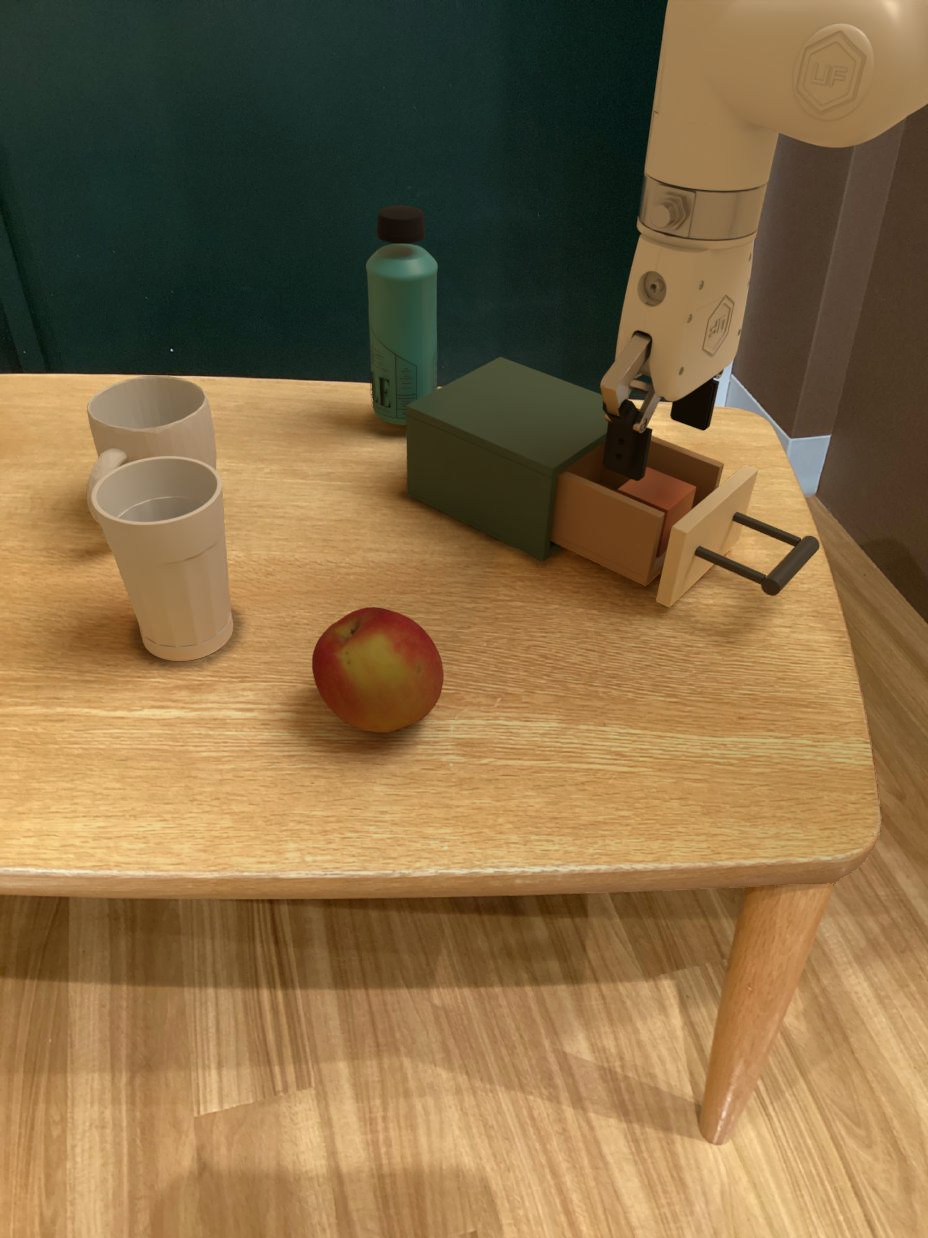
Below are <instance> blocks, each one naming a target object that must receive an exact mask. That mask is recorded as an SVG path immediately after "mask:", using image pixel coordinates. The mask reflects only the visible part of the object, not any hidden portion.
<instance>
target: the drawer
mask: <svg viewBox="0 0 928 1238" xmlns="http://www.w3.org/2000/svg"><path fill="white" fill-rule="evenodd" d="M605 442H606V441H605ZM605 442H603V443H602V444H600V445H599V446H598V447H596V448H595V449H593V450H592V451H590V452H589V453H587V454H586V455H584V456H583V457H582V458H580V459H579V460H577V461H576V462H574V463H573V464H571V465H570V466H568V467H567V468H566V469H564V470H563V471H561V472H560V473H558V476H557V485H556V494H555V503H554V512H553V521H552V529H551V538H550V541H552V542H554V543H556V544H558V545H560V546H562V547H561V548H564V549H566V550H568V551H570V552H573V553H575V554H577V555H579V556H580V557H583V558H585V559H587V560H590V561H591V562H593V563H595V564H598V565H600V566H602V567H604V568H605V569H608V570H610V571H612V572H615V573H616V574H618V575H620V576H622V577H625V578H627V579H629V580H631V581H633V582H635V583H638V584H640V585H642V586H643V587H647V586H648V585H649V584H650V583H651V582H653V580H655V579H656V578H657V577H658V576H659V575H660V574H661V575H660V579H659V585H658V590H657V594H656V599H655V601H656V603H659V604H660V605H662V606H665V607H667V608H671V607H672V606H673V605H674V604H675V603H676V602H677V601H678V600H679V599H681V597H682V596H683V595H684V594H685V593H686V592H687V591H689V589H690V588H691V587H692V586H694V585H695V584H696V583H697V582H698V581H699V580H700V579H701V578H702V577H703V576H704V575H705V574H706V573H708V571H709V570H710V569H712V567H713V566H714V565H715V566H717V567H720V568H722V569H724V570H726V571H728V572H731V573H733V574H736V575H737V576H740V577H742V578H744V579H747V580H749V581H751V582H753V583H755V584H758V585H760V588H761V591H762V592H763V593H764V594H765V595H767V596H771V597H774V596H777V595H779V594H780V593H781V591H782V590H783V589H784V588H785V587H786V586H787V585H788V583H790V582H791V580H793V578H794V577H795V576H796V575H797V574H798V573H800V571H801V569H803V567H804V566H805V565H806V564H807V563H808V562H809V561H810V560H811V558H812V557H814V555H815V554H816V553H817V552H818V551H819V549H820V547H821V546H820V544H821V543H820V541H819V539H818V538H817V537H815V536H813V535H805V536H804V537H802V538H801V537H800V536H797V535H795V534H792V533H791V532H788V531H785V530H783V529H780V528H778V527H775V526H774V525H770V524H769V523H766V522H763V521H761V520H759V519H757V518H753V517H751V516H749V515H747V513H748V509H749V505H750V501H751V497H752V494H753V491H754V486H755V484H756V479H757V477H758V472H759V469H758V468H756V467H753V466H751V465H748V464H745V463H744V464H743V465H742V466H741V467H739V468H738V469H737V470H736V471H735V472H733V473H732V474H731V475H730V476H729V477H728V478H726V480H724V481H723V482H722V483H721V479H722V475H723V471H724V466H725V463H724V462H721V461H718V460H716V459H713V458H712V457H709V456H706V455H704V454H701V453H699V452H696V451H693V450H690V449H688V448H685V447H683V446H680V445H679V444H675V443H672V442H670V441H667V440H664V439H662V438H660V437H657V436H654V435H652V436H651V442H650V448H649V454H648V459H647V465H646V467H649V468H651V469H654V470H656V471H659V472H661V473H664V474H666V475H669V476H671V477H674V478H676V479H678V480H681V481H683V482H686V483H688V484H691V485H693V486H696V491H695V495H694V499H693V504H692V508H691V511H690V512H688V513H687V514H686V515H685V516H684V517H683V518H681V519H680V520H679V521H678V522H677V523H676V524H674V525H673V526H672V528H671V533H670V538H669V542H668V547H667V550H666V551H665V552H664V553H663V554H662V555H661V556H660V557H656V554H657V549H658V544H659V539H660V534H661V530H662V525H663V520H664V515H665V513H664V512H661V511H659V510H657V509H654V508H652V507H650V506H647V505H645V504H643V503H640V502H638V501H636V500H633V499H631V498H629V497H626V496H624V495H622V494H619V493H617V491H618V488H620V487H621V486H622V485H624V484H625V483H626V482H628V481H629V480H630V478H628V477H625V476H623V475H620V474H618V473H615V472H613V471H610V470H608V469H606V468H605V467H604V466H603V456H604V449H605ZM720 483H721V484H720ZM743 527H746V528H749V529H751V530H753V531H756V532H758V533H761V534H763V535H765V536H768V537H770V538H772V539H775V540H777V541H780V542H783V543H785V544H787V545H789V546H792V547H793V548H792V549H791V550H790V551H789V552H788V553H787V554H786V555H785V556H784V557H783V558H782V560H780V561H779V562H778V563H777V564H776V565H775V567H774V568H773V569H772V570H771V571H770V572H769V573H768V574H765V573H763V572H761V571H758V570H756V569H753V568H752V567H749V566H747V565H745V564H742V563H741V562H738V561H735V560H733V559H731V558H729V557H726V556H725V555H726V554H727V553H728V552H729V551H730V550H731V549H732V548H733V547H734V546H735V545H736V544H737V543H738V542H739V541H740V538H741V535H742V531H743Z"/></svg>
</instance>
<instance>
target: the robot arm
mask: <svg viewBox="0 0 928 1238" xmlns="http://www.w3.org/2000/svg"><path fill="white" fill-rule="evenodd" d="M660 45H661V46H660V52H659V59H658V60H659V61H658V69H657V73H656V74H657V76H656V82H655V90H654V95H653V96H654V97H653V104H652V110H651V119H650V125H649V133H648V141H647V147H646V155H645V163H644V171H643V177H642V178H643V179H642V186H641V193H640V200H639V207H638V213H637V221H636V228H637V230H638V232H640V235H639V237H638V241H637V245H636V248H635V252H634V256H633V260H632V264H631V268H630V272H629V276H628V280H627V285H626V291H625V295H624V299H623V305H622V310H621V315H620V322H619V327H618V333H617V341H616V348H615V358H614V362H613V363H612V365H610V368H609V369H607V371H606V372H605V374H604V375H603V377H602V379H601V381H600V383H599V384H600V386H599V387H600V394H601V395H602V397H603V402H602V403H603V411H604V412H605V413H606V414H605V420H606V421H608V427H607V434H606V442H605V449H604V456H603V466H604V467H605V468H606V469H608V470H610V471H613V472H615V473H618V474H620V475H623V476H625V477H628V478H630V479H632V480H635V481H639V480H641V479H642V478H643V477H644V476H645V471H646V465H647V459H648V454H649V448H650V442H651V436H653V428H651V427H648V426H649V424H650V422H651V419H652V417H653V415H654V414H655V411H656V409H657V407H658V406H659V403H660V401H661V399H662V398H664V400H665V401H668V402H672V403H671V409H670V414H669V415H670V419H671V420H672V421H674V422H677V423H680V424H683V425H685V426H688V427H690V428H694V429H697V430H700V431H704V432H705V431H706V430H707V429H708V428H710V427H711V423H712V418H713V415H714V410H715V404H716V400H717V395H718V392H719V391H718V390H719V387H720V386H719V385H720V381H719V379H720V378H722V375H723V373H724V371H725V369H726V368H727V367H728V366H730V365H731V363H732V362H733V361H734V360H735V358H736V356H737V353H738V349H739V344H740V340H741V334H742V329H743V323H744V318H745V311H746V306H747V300H748V293H749V289H750V282H751V275H752V268H753V259H754V248H755V240H756V238H757V235H758V230H759V224H760V220H761V215H762V211H763V206H764V202H765V198H766V192H767V188H768V185H769V184H768V183H769V181H770V176H771V171H772V166H773V161H774V157H775V153H776V148H777V143H778V139H779V134H781V135H784V136H786V137H789V138H793V139H795V140H798V141H801V142H804V143H806V144H811V145H815V146H817V147H823V148H836V149H837V148H847V147H854V146H857V145H861V144H864V143H866V142H869V141H871V140H873V139H875V138H877V137H879V136H880V135H882V134H883V133H885V132H887V131H888V130H890V129H891V128H893V127H894V126H896V125H897V124H898V123H900V122H902V121H903V120H904V119H906V118H907V117H908V116H910V115H912V114H913V113H915V112H917V111H918V110H921V109H922V108H923V107H925V106H926V105H928V0H667V5H666V10H665V15H664V23H663V31H662V40H661V44H660ZM643 375H644V376H647V377H650V378H651V382H652V383H650V382H647V381H644V380H642V379H639V377H641V376H643ZM632 392H636V393H639V394H641V395H645V398H644V399H643V401H642V403H641V406H640V408H638V407H637V406H636V405H635V403H634V401H632V400H630V399H629V397H630V395H631V393H632ZM637 408H638V409H640V410H639V411H638V409H637Z"/></svg>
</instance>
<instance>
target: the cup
mask: <svg viewBox="0 0 928 1238" xmlns="http://www.w3.org/2000/svg"><path fill="white" fill-rule="evenodd" d="M223 492H224V491H223V479H222V477H221V475H220V474H219V472H218V471H217V469H216V470H215V469H214V468H213V467H211V466H210V465H208V464H206V463H204V462H201V461H199V460H195V459H192V458H186V457H178V456H160V457H151V458H145V459H141V460H137V461H133V462H130V463H127V464H124V465H122V466H120V467H118V468H116V469H114V470H112V471H110V472H109V473H107V474H106V475H105V476H103V477H102V478H101V479H100V480H99V481H98V482H97V483H96V485H95V486H94V488H93V490H92V494H91V501H92V504H93V507H94V510H95V512H96V515H97V517H98V520H99V522H100V524H99V525H100V527H101V530H102V532H103V535H104V537H105V540H106V543H107V545H108V547H109V548H110V550H111V553H112V556H113V558H114V560H115V563H116V566H117V569H118V572H119V575H120V576H121V580H122V582H123V585H124V588H125V591H126V593H127V596H128V598H129V601H130V604H131V606H132V609H133V612H134V614H135V618H136V620H137V622H138V627H139V632H140V636H141V639H142V643H143V646H144V647H145V649H146V650H147V651H148V652H149V653H150V654H152V655H153V656H155V657H157V658H159V659H161V660H166V661H172V662H188V661H193V660H198V659H201V658H205V657H208V656H209V655H211V654H212V655H213V653H216V652H217V651H218V650H220V649H221V648H222V647H224V646H225V645H226V644H227V643H228V641H229V640H230V638H231V636H232V635H233V632H234V620H233V616H232V608H231V606H232V605H231V594H230V593H231V592H230V581H229V567H228V553H227V552H228V551H227V539H226V528H225V526H226V525H225V512H224V511H225V510H224V494H223Z"/></svg>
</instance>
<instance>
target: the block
mask: <svg viewBox="0 0 928 1238" xmlns="http://www.w3.org/2000/svg"><path fill="white" fill-rule="evenodd" d="M695 491H696V486H693V485H691V484H688V483H686V482H683V481H681V480H678V479H676V478H674V477H671V476H669V475H666V474H664V473H661V472H659V471H656V470H654V469H651V468H649V467H646V471H645V476H644V477H643V478H642V479H641V480H639V481H635V480H632V479H630V480H629V481H628V482H626V483H625V484H624V485H622V486H621V487H620V488H618V491H617V493H619V494H622V495H624V496H626V497H629V498H631V499H633V500H636V501H638V502H640V503H643V504H645V505H647V506H650V507H652V508H654V509H657V510H659V511H661V512H664V513H665V515H664V520H663V525H662V530H661V534H660V539H659V544H658V549H657V554H656V557H660V556H661V555H662V554H663V553H664V552H665V551H666V550H667V547H668V542H669V538H670V533H671V528H672V526H673V525H674V524H676V523H677V522H678V521H679V520H680V519H681V518H683V517H684V516H685V515H686V514H687V513H688V512H690V511H691V508H692V504H693V499H694V495H695Z"/></svg>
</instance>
